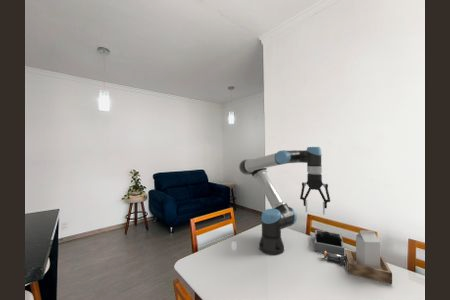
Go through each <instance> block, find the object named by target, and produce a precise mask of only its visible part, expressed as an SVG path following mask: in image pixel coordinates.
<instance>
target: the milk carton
mask: <svg viewBox="0 0 450 300" xmlns="http://www.w3.org/2000/svg"><path fill="white" fill-rule="evenodd" d="M355 245H356V246H355V251H356V264H358V265H362V266H367V267H372V268H376V269H380V256H381V241H380V239H379V238H378V236H377V234H376V231H375V230H359V233H357V234H356V235H355Z"/></svg>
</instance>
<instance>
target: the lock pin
mask: <svg viewBox="0 0 450 300" xmlns="http://www.w3.org/2000/svg"><path fill="white" fill-rule="evenodd" d="M328 257H329V258H334V259H338V260H340V258H344V262H346V257H345V256H343V255H338V254H333V253H328V252H327V251H324V253H323V258H324V259H328Z"/></svg>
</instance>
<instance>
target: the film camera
mask: <svg viewBox="0 0 450 300" xmlns="http://www.w3.org/2000/svg"><path fill="white" fill-rule="evenodd" d="M329 232H330V231H326V232H323V233H321V234H320V233H318V234H315V233H314V237H315V236H316V239H317V242H318V243H324V244H329V245H334V246H340V247H341V242H342V240H343V238H342V239H341V238H340V236H337V235H336V234H335V235H331V234H330V233H329Z"/></svg>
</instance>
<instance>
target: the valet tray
mask: <svg viewBox="0 0 450 300" xmlns="http://www.w3.org/2000/svg"><path fill="white" fill-rule="evenodd" d="M314 231H315V232H314V251H315V252H318V253H323V254H324V251H327V252H328V253H333V254H338V255H339V253H343V256H345V245H344V241H343V237H342V234H341V233H336V232H331V231H328V232H329V233H330V234H331V235H335V234H336V235H337V236H340V238H341V239H342V242H341V247H340V246H334V245H329V244H324V243H318V242H317V239H316V236H315V234H318V233H320V234H321V233H323V232H327V230H326V231H325V230H320V229H319V230H318V229H315V230H314Z"/></svg>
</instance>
